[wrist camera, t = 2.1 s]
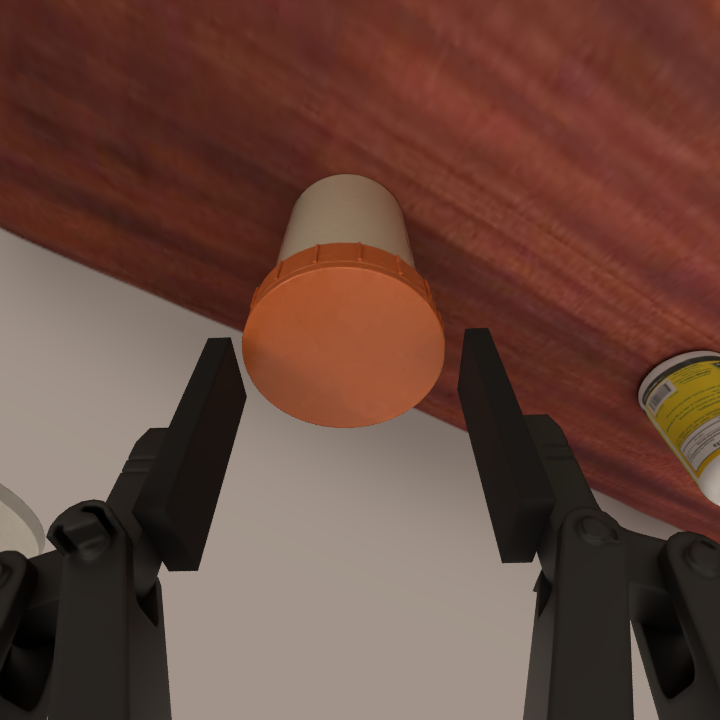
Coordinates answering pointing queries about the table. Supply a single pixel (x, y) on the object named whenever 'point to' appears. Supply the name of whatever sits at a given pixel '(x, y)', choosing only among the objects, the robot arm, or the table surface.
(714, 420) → the pill bottle
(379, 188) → the jar
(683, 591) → the robot arm
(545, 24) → the table surface
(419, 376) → the lid
